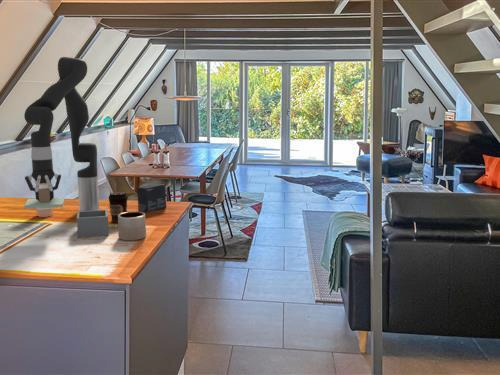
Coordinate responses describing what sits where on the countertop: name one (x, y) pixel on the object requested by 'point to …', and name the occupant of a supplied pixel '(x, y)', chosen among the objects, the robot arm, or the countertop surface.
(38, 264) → the countertop surface
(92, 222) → the bin
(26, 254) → the countertop surface
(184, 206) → the countertop surface
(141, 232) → the planter
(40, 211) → the pepper shaker
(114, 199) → the coffee cup
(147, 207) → the small box
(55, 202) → the lid
